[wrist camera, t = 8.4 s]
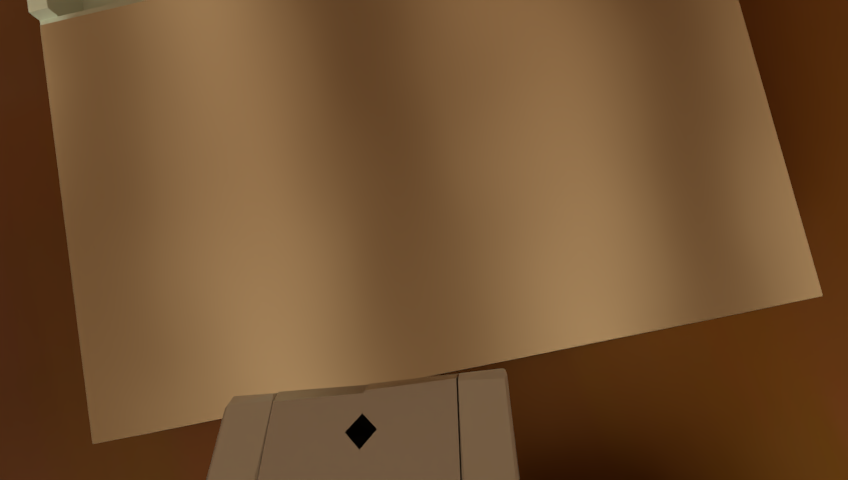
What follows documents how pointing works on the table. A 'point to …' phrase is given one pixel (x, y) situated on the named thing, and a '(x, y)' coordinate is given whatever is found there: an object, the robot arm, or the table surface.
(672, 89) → the oak board
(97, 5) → the tray
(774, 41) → the table surface
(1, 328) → the table surface
